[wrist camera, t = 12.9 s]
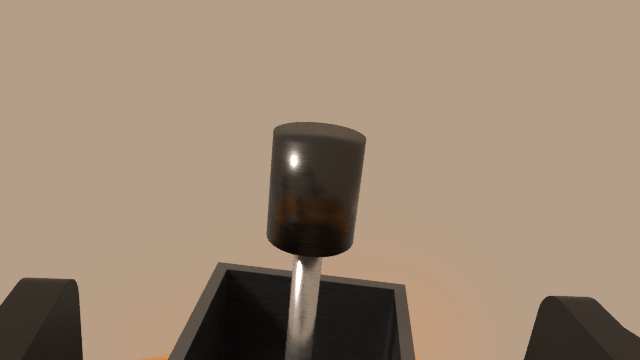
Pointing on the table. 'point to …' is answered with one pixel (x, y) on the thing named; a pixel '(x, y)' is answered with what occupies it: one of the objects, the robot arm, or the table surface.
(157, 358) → the table surface
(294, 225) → the plunger
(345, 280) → the box
